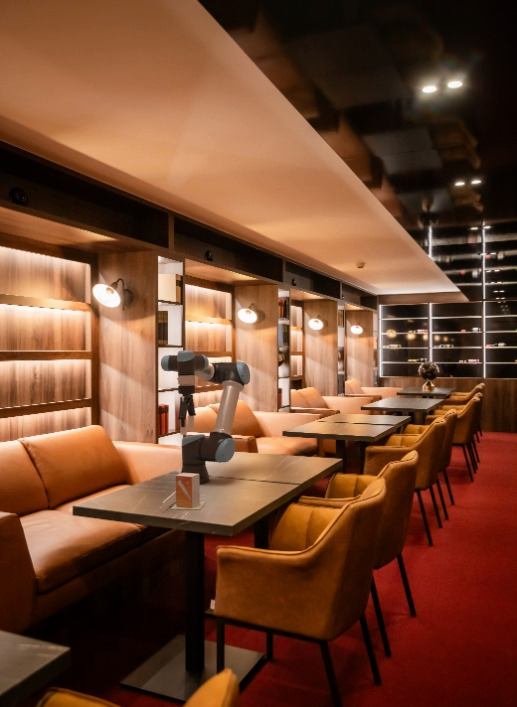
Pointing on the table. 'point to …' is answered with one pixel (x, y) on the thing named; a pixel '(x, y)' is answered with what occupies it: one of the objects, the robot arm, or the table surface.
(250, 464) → the table surface
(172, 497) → the fence
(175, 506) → the mat
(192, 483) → the small box
